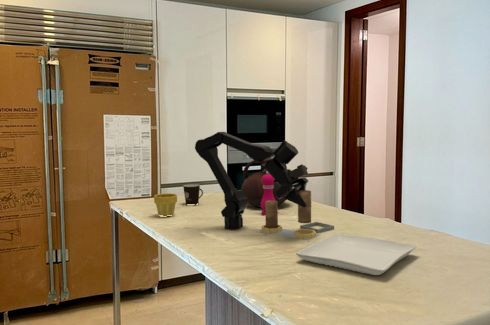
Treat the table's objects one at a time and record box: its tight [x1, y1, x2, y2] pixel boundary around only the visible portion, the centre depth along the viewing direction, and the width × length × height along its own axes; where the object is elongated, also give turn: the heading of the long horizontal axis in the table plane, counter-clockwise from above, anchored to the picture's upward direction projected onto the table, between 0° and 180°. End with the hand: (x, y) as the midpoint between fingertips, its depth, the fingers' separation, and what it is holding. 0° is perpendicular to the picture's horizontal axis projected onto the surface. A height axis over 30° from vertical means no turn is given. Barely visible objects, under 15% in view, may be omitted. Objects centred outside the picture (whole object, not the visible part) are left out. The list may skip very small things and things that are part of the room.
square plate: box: [295, 233, 417, 276], centre depth 131 cm, size 27×27×4 cm
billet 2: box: [297, 189, 312, 224], centre depth 153 cm, size 5×5×11 cm
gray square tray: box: [299, 221, 335, 234], centre depth 163 cm, size 9×9×2 cm
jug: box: [241, 157, 288, 208], centre depth 216 cm, size 25×25×25 cm
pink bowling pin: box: [260, 171, 276, 216], centre depth 196 cm, size 7×7×20 cm
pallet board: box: [256, 224, 320, 243], centre depth 158 cm, size 22×9×3 cm, turn 51°
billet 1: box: [264, 200, 279, 228], centre depth 162 cm, size 5×5×11 cm
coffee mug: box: [182, 183, 204, 205], centre depth 223 cm, size 12×9×10 cm
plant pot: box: [153, 192, 178, 216], centre depth 197 cm, size 10×10×10 cm
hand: (308, 205), depth 152 cm, fingers closed on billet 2, 5 cm apart
